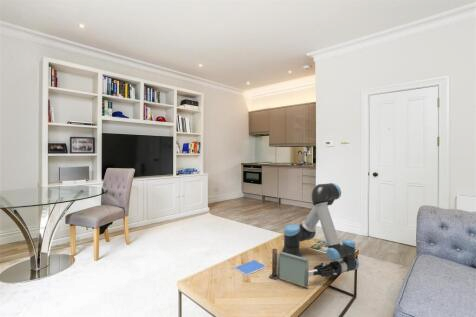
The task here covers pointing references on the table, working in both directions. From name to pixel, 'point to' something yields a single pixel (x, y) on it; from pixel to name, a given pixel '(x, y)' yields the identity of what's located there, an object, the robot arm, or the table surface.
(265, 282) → the table surface
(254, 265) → the tablet computer
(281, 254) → the panel
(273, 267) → the hinge post
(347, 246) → the robot arm
